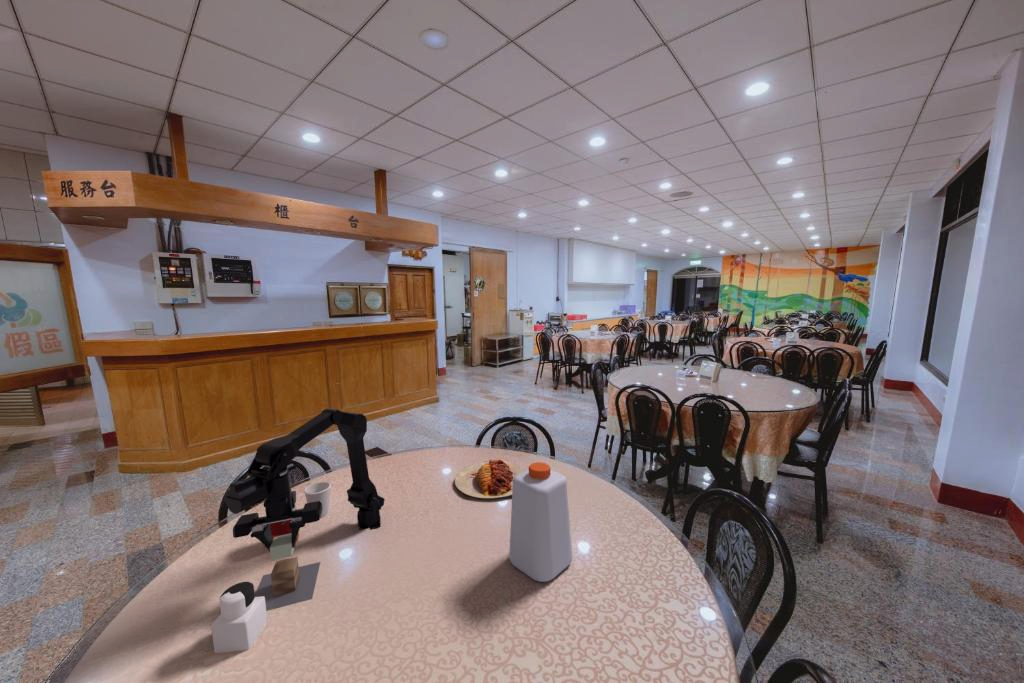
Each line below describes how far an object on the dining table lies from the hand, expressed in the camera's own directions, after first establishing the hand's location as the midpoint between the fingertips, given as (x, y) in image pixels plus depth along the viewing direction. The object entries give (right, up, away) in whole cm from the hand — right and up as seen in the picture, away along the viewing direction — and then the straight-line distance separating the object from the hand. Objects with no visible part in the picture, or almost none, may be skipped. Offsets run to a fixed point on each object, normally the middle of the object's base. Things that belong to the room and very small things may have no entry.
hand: (283, 549), depth 95 cm
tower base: (0, -10, +1) cm, 11 cm away
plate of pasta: (+53, -4, +56) cm, 78 cm away
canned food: (-12, -9, +20) cm, 25 cm away
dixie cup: (-9, -8, +35) cm, 37 cm away
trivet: (0, -11, +1) cm, 11 cm away
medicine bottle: (-1, -13, -13) cm, 18 cm away
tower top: (0, -7, +1) cm, 8 cm away
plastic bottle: (+67, -9, +9) cm, 69 cm away
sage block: (0, -1, 0) cm, 1 cm away
